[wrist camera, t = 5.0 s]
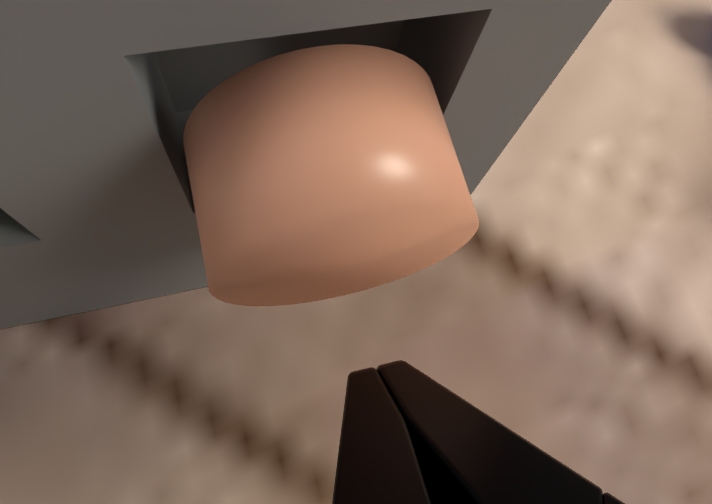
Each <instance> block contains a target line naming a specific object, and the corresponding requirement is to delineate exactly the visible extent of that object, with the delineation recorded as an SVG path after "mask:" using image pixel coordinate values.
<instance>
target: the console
mask: <svg viewBox="0 0 712 504" xmlns="http://www.w3.org/2000/svg"><path fill="white" fill-rule="evenodd" d="M610 2H611V0H0V329H4V328H9V327H14V326H19V325H24V324H29V323H33V322H38V321H43V320H48V319H53V318H58V317H63V316H67V315H72V314H77V313H82V312H87V311H92V310H97V309H101V308H106V307H111V306H116V305H121V304H126V303H131V302H135V301H140V300H145V299H150V298H155V297H160V296H165V295H169V294H174V293H179V292H184V291H189V290H194V289H199V288H203V287H208V282H207V277H206V271H205V265H204V259H203V254H202V248H201V242H200V236H199V231H198V225H197V219H196V213H195V208H194V202H193V196H192V190H191V184H190V179H189V173H188V167H187V161H186V156H185V150H184V144H183V133H184V129H185V126H186V122H187V120H188V118H189V116H190V114H191V112H192V111H193V110H194V108H195V107H196V106H197V104H198V103H199V102H200V101H201V100H202V99H203V98H204V97H205V96H206V95H207V94H208V93H209V92H210V91H211V90H212V89H214V88H215V87H216V86H218V85H219V84H220V83H221V82H223V81H224V80H226V79H227V78H229V77H231V76H232V75H234V74H236V73H237V72H239V71H241V70H243V69H245V68H247V67H249V66H251V65H254V64H256V63H258V62H260V61H263V60H266V59H269V58H271V57H274V56H277V55H280V54H284V53H288V52H291V51H295V50H300V49H305V48H311V47H316V46H326V45H337V44H348V45H366V46H375V47H379V48H384V49H388V50H392V51H394V52H397V53H399V54H402V55H405V56H406V57H408V58H410V59H411V60H413V61H415V62H416V63H417V64H418V65H420V66H421V67H422V68H423V69H424V70H425V72H426V73H427V74H428V76H429V77H430V80H431V82H432V85H433V87H434V90H435V93H436V96H437V99H438V102H439V105H440V108H441V111H442V114H443V117H444V120H445V123H446V126H447V129H448V131H449V134H450V137H451V140H452V143H453V146H454V149H455V152H456V155H457V158H458V161H459V164H460V167H461V170H462V173H463V176H464V179H465V181H466V184H467V187H468V190H469V193H470V195H471V194H472V192H473V191H474V190H475V188H476V187H477V185H478V184H479V183H480V181H481V180H482V178H483V177H484V176H485V174H486V173H487V172H488V170H489V169H490V167H491V166H492V165H493V163H494V162H495V161H496V159H497V158H498V156H499V155H500V154H501V152H502V151H503V149H504V148H505V147H506V145H507V144H508V143H509V141H510V140H511V138H512V137H513V136H514V134H515V133H516V132H517V130H518V129H519V127H520V126H521V125H522V123H523V122H524V121H525V119H526V118H527V116H528V115H529V114H530V112H531V111H532V109H533V108H534V107H535V105H536V104H537V103H538V101H539V100H540V98H541V97H542V96H543V94H544V93H545V92H546V90H547V89H548V87H549V86H550V85H551V83H552V82H553V80H554V79H555V78H556V76H557V75H558V74H559V72H560V71H561V69H562V68H563V67H564V65H565V64H566V63H567V61H568V60H569V58H570V57H571V56H572V54H573V53H574V52H575V50H576V49H577V47H578V46H579V45H580V43H581V42H582V40H583V39H584V38H585V36H586V35H587V34H588V32H589V31H590V29H591V28H592V27H593V25H594V24H595V23H596V21H597V20H598V18H599V17H600V16H601V14H602V13H603V11H604V10H605V9H606V7H607V6H608V5H609V3H610Z"/></svg>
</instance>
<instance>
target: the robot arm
mask: <svg viewBox="0 0 712 504" xmlns="http://www.w3.org/2000/svg"><path fill="white" fill-rule="evenodd" d="M332 504H625V503H623V502H622V501H620V500H619V499H617V498H615V497H614V496H612V495H611V494H609V493H604V494H603V493H602V489H601V488H600V487H598V486H597V485H595V484H593V483H592V482H590V481H589V480H587V479H586V478H584V477H583V476H581V475H580V474H578V473H576V472H575V471H573V470H572V469H570V468H569V467H567V466H566V465H564V464H563V463H561V462H559V461H558V460H556V459H555V458H553V457H552V456H550V455H549V454H547V453H546V452H544V451H542V450H541V449H539V448H538V447H536V446H535V445H533V444H532V443H530V442H529V441H527V440H526V439H524V438H522V437H521V436H519V435H518V434H516V433H515V432H513V431H512V430H510V429H509V428H507V427H505V426H504V425H502V424H501V423H499V422H498V421H496V420H495V419H493V418H492V417H490V416H488V415H487V414H485V413H484V412H482V411H481V410H479V409H478V408H476V407H475V406H473V405H472V404H470V403H468V402H467V401H465V400H464V399H462V398H461V397H459V396H458V395H456V394H455V393H453V392H451V391H450V390H448V389H447V388H445V387H444V386H442V385H441V384H439V383H438V382H436V381H434V380H433V379H431V378H430V377H428V376H427V375H425V374H424V373H422V372H421V371H419V370H417V369H416V368H414V367H413V366H411V365H410V364H408V363H407V362H405V361H402V360H400V361H395V362H391V363H387V364H383V365H380V366H378V367H377V369H375V368H372V367H371V368H366V369H362V370H358V371H354V372H351V373H350V374H349V375H348V380H347V388H346V396H345V404H344V412H343V420H342V429H341V437H340V445H339V453H338V461H337V469H336V477H335V485H334V493H333V501H332Z"/></svg>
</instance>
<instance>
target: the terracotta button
mask: <svg viewBox="0 0 712 504" xmlns="http://www.w3.org/2000/svg"><path fill="white" fill-rule="evenodd" d="M183 144H184V150H185V156H186V161H187V167H188V173H189V179H190V184H191V190H192V196H193V202H194V208H195V213H196V219H197V225H198V231H199V236H200V242H201V248H202V254H203V259H204V265H205V271H206V277H207V282H208V288H209V291H210V293H211V294H212V295H213V296H214V297H216V298H217V299H219V300H221V301H224V302H227V303H232V304H237V305H245V306H277V305H289V304H298V303H305V302H312V301H318V300H323V299H328V298H333V297H338V296H342V295H347V294H351V293H355V292H358V291H362V290H366V289H369V288H373V287H376V286H379V285H382V284H385V283H388V282H391V281H394V280H397V279H400V278H402V277H405V276H407V275H410V274H412V273H415V272H417V271H419V270H422V269H424V268H426V267H428V266H430V265H432V264H434V263H436V262H438V261H440V260H442V259H444V258H445V257H447V256H449V255H451V254H452V253H454V252H455V251H457V250H458V249H459V248H461V247H462V246H463V245H465V244H466V243H467V242H468V241H469V240H470V239H471V238H472V237H473V236H474V234H475V233H476V231H477V229H478V226H479V220H478V217H477V214H476V211H475V208H474V205H473V202H472V199H471V196H470V193H469V190H468V187H467V184H466V181H465V179H464V176H463V173H462V170H461V167H460V164H459V161H458V158H457V155H456V152H455V149H454V146H453V143H452V140H451V137H450V134H449V131H448V129H447V126H446V123H445V120H444V117H443V114H442V111H441V108H440V105H439V102H438V99H437V96H436V93H435V90H434V87H433V85H432V82H431V80H430V77H429V76H428V74H427V73H426V72H425V70H424V69H423V68H422V67H421V66H420V65H418V64H417V63H416V62H415V61H413V60H411V59H410V58H408V57H406V56H405V55H402V54H399V53H397V52H394V51H392V50H388V49H384V48H379V47H375V46H366V45H348V44H337V45H326V46H316V47H311V48H305V49H300V50H295V51H291V52H288V53H284V54H280V55H277V56H274V57H271V58H269V59H266V60H263V61H260V62H258V63H256V64H254V65H251V66H249V67H247V68H245V69H243V70H241V71H239V72H237V73H236V74H234V75H232V76H231V77H229V78H227V79H226V80H224V81H223V82H221V83H220V84H219V85H218V86H216V87H215V88H214V89H212V90H211V91H210V92H209V93H208V94H207V95H206V96H205V97H204V98H203V99H202V100H201V101H200V102H199V103H198V104H197V106H196V107H195V108H194V110H193V111H192V112H191V114H190V116H189V118H188V120H187V122H186V126H185V129H184V133H183Z"/></svg>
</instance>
